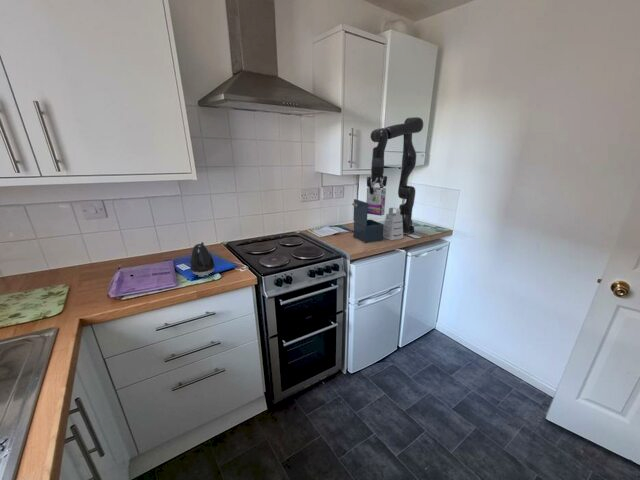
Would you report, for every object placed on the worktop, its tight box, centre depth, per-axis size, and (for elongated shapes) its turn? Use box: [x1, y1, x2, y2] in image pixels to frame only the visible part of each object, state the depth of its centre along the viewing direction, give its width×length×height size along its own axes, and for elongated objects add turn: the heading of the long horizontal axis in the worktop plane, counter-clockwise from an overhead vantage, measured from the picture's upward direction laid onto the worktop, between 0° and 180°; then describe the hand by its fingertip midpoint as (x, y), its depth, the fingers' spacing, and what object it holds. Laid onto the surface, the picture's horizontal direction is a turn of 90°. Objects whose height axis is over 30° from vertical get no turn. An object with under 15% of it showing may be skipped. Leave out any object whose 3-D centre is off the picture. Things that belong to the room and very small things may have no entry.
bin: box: [352, 218, 384, 244], centre depth 199 cm, size 14×15×11 cm
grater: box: [383, 206, 404, 241], centre depth 201 cm, size 10×10×20 cm
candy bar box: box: [365, 186, 387, 217], centre depth 187 cm, size 11×5×16 cm, turn 57°
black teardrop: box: [189, 241, 216, 278], centre depth 137 cm, size 10×10×15 cm
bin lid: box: [352, 198, 368, 226], centre depth 189 cm, size 14×15×5 cm
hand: (376, 193), depth 186 cm, fingers closed on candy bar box, 6 cm apart
